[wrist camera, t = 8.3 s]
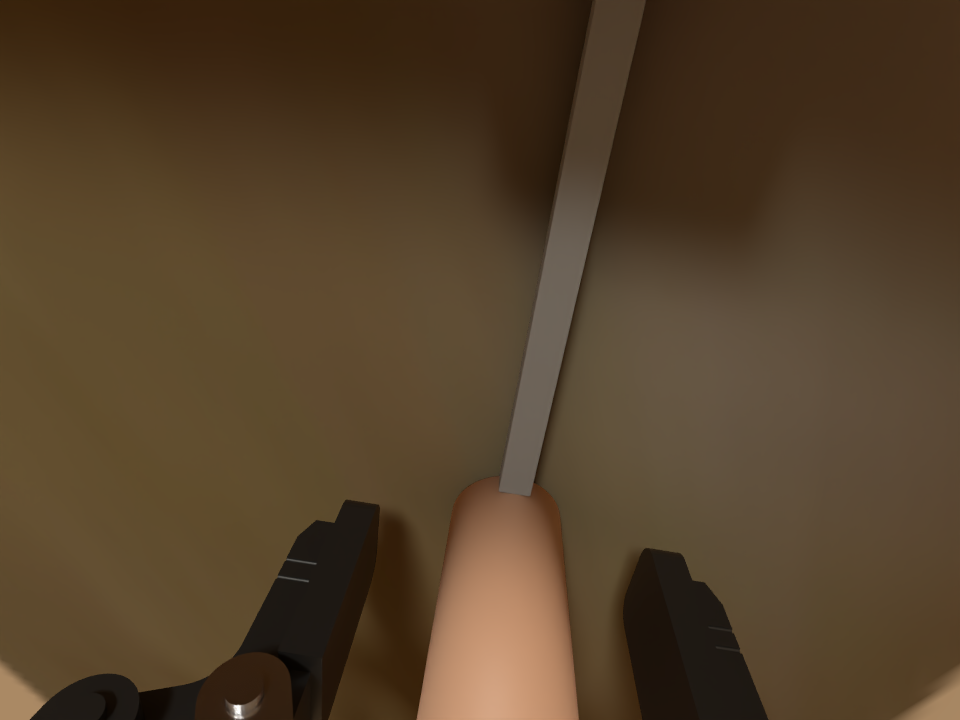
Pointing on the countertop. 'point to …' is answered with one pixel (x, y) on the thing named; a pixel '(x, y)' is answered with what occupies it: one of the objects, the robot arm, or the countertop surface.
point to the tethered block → (530, 453)
